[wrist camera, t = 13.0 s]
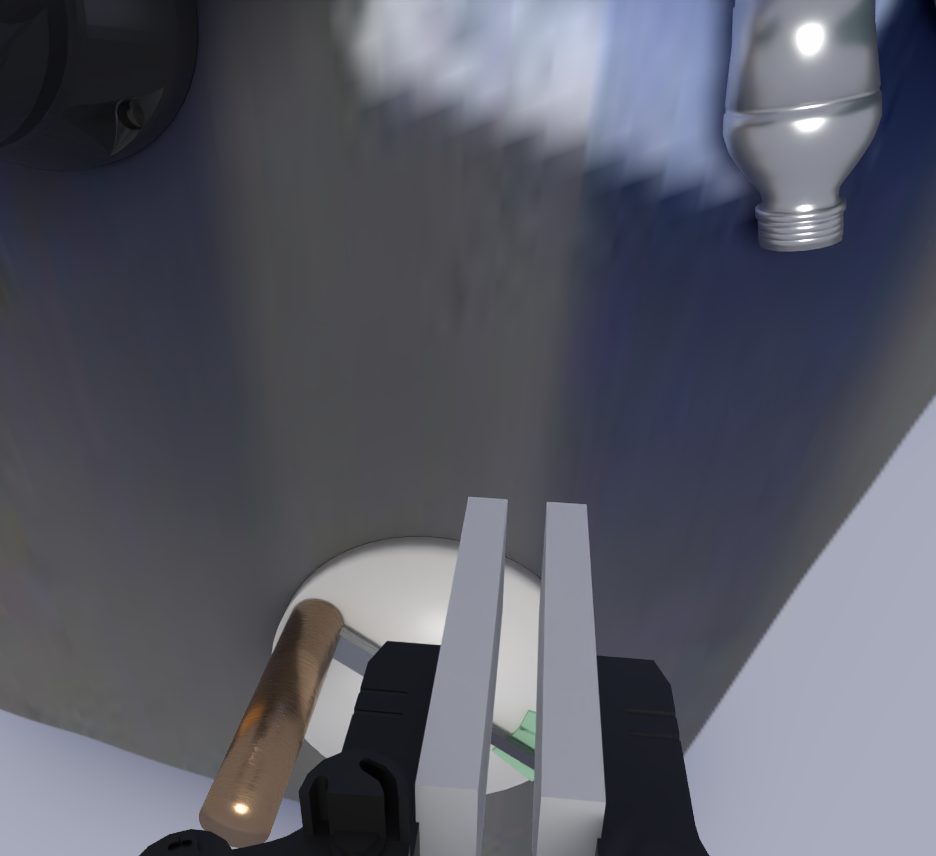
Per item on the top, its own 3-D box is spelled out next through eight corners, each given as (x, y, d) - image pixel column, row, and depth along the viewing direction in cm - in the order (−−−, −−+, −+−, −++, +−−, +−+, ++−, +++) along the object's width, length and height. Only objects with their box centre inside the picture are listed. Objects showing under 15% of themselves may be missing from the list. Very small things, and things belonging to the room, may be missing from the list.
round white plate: (293, 760, 62) (284, 784, 60) (266, 525, 52) (254, 544, 50) (576, 788, 60) (576, 813, 58) (603, 549, 50) (605, 570, 48)
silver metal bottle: (873, -290, 31) (854, 216, 40) (698, -248, 33) (715, 235, 41) (943, -361, 26) (903, 246, 34) (727, -307, 27) (740, 268, 35)
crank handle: (570, 745, 55) (575, 973, 42) (526, 782, 57) (517, 1010, 44) (313, 584, 51) (226, 780, 38) (275, 630, 53) (180, 831, 40)
